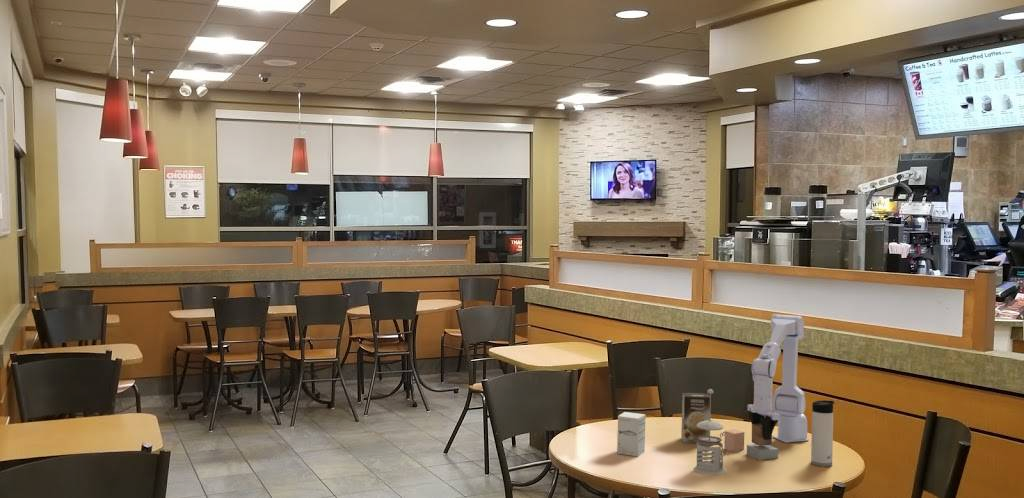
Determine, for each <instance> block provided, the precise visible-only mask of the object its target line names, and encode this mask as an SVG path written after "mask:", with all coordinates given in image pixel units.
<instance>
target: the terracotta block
mask: <svg viewBox="0 0 1024 498" xmlns="http://www.w3.org/2000/svg"><path fill="white" fill-rule="evenodd" d="M724 432H725V433H726V434H727V435H728V436H729V437H730V439H731V442H730V439H729V437H728V436H727V435H726V434H725V433H724V435H725V436H726V437H727V439H728V441H729V451H730V448H731V451H730V452H739V451H744V450H745V431H742V430H739V429H735V428H733V429H727V430H724ZM725 436H724V443H723V444H724V445H723V449H724V450H727V451H728V441H727V439H726V437H725ZM731 443H732V445H731Z"/></svg>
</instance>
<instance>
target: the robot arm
mask: <svg viewBox="0 0 1024 498" xmlns="http://www.w3.org/2000/svg"><path fill="white" fill-rule="evenodd" d="M770 329H771V335H770V337H769V341H768V342H766V343H764V345H763V346H762V349H761V350H760V353H759V355H758V357H757V358H756V359H755V358H754V359H753V360H752V363H751V373H752V382H753V390H754V391H753V404H752V403H751V404H747V406H746V407H747V411H748V412H751V413H747V416H748V418H749V420H750V423H751V425H752V424H758V423H762V427H763V437H764V440H769V439H771V436H772V438H774V439H777V440H778V441H781V442H784V443H786V444H787V443H796V442H806V441H807V442H808V441H809V438H808V420H807V416H806V415H805V414H804V412H805V410H806V396H805V392H804V391H803V390H802V389H801V388H800V387H798V386H797V380H798V379H797V378H798V355H799V354H798V353H799V351H798V350H799V340H801V339H804V335H805V334H804V333H805V332H804V330H805V320H804V318H803V317H802V316H801V315H789V314H778V313H774V314H772V316H771V318H770ZM782 343H783V349H781V346H782ZM781 352H782V373H781V376H782V377H781V379H782V380H781V385H780V386H779V387H777V388H776V389H775V391H774V392H773V388H774V387H773V384H774V383H773V380H774V379H773V378H774V377H775V375H776V369H777V365H778V364H777V361H778V360H779V357H780V355H781ZM773 393H774V394H773ZM776 424H777V435H773V432H774V429H775V427H776Z"/></svg>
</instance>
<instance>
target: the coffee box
mask: <svg viewBox="0 0 1024 498" xmlns="http://www.w3.org/2000/svg"><path fill="white" fill-rule="evenodd" d="M681 407H682V408H681V436H680V437H681V441H682V442H683V443H692V444H697V442H699V440H698V437H700V436H709V433H710V434H711V430H703V429H700V428H698V427H697V424H698V423H699V422H702V421H706V420H711V413H710V394H709V393H701V392H700V393H697V392H682V403H681Z"/></svg>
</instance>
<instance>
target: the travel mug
mask: <svg viewBox="0 0 1024 498" xmlns="http://www.w3.org/2000/svg"><path fill="white" fill-rule="evenodd" d="M811 405H812V408H811V411H812V413H811V446H810V448H811V453H810V457H811V458H810V462H811V464H812V465H813V466H817V467H823V466H824V467H826V466H827V467H830V466H832V465H833V453H834V452H833V448H834V446H833V444H834V443H833V442H834V440H833V439H834V438H833V437H834V405H835V401H834V400H817V401H816V400H815V401H813V402H812V403H811Z"/></svg>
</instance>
